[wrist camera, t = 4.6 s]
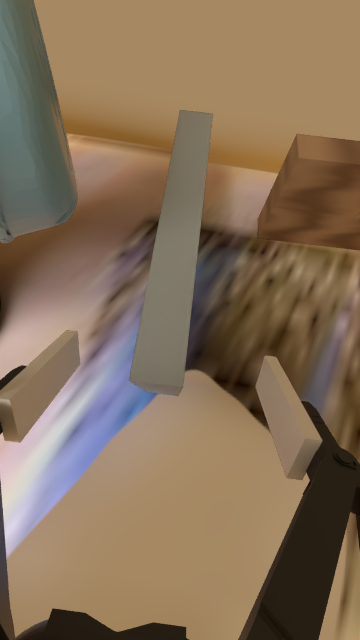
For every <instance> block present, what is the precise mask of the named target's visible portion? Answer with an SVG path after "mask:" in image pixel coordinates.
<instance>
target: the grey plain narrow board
mask: <svg viewBox="0 0 360 640" xmlns="http://www.w3.org/2000/svg"><path fill="white" fill-rule="evenodd" d="M212 118H213V114H211V113H203V112H193V111H185V110H180V112H179V118H178V123H177V128H176V134H175V139H174V144H173V150H172V155H171V160H170V165H169V171H168V176H167V181H166V187H165V192H164V197H163V203H162V208H161V213H160V218H159V224H158V229H157V234H156V240H155V245H154V250H153V256H152V261H151V266H150V272H149V277H148V282H147V287H146V293H145V298H144V303H143V309H142V314H141V319H140V325H139V330H138V335H137V340H136V346H135V351H134V356H133V362H132V367H131V372H130V378H129V381H131V382H132V383H134V384H135V385H137V386H138V387H140V388H141V389H143V390H144V391H146V392H151V393H159V394H167V395H175V396H178V395H179V393H180V392H181V390H182V388H183V381H184V373H185V364H186V355H187V346H188V337H189V328H190V319H191V310H192V300H193V291H194V282H195V273H196V264H197V255H198V246H199V237H200V227H201V218H202V209H203V200H204V191H205V182H206V173H207V164H208V154H209V145H210V135H211V127H212Z"/></svg>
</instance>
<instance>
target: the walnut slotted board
mask: <svg viewBox="0 0 360 640" xmlns="http://www.w3.org/2000/svg"><path fill="white" fill-rule="evenodd" d="M258 238H261V239H270V240H278V241H286V242H295V243H303V244H312V245H320V246H328V247H337V248H345V249H353V250H360V141H353V140H345V139H336V138H327V137H319V136H310V135H301V134H297V135H296V137H295V139H294V141H293V143H292V146H291V148H290V150H289V152H288V154H287V157H286V159H285V161H284V163H283V165H282V167H281V170H280V172H279V174H278V176H277V178H276V181H275V183H274V185H273V187H272V189H271V191H270V194H269V196H268V198H267V200H266V202H265V205H264V207H263V209H262V211H261V213H260V215H259V218H258Z"/></svg>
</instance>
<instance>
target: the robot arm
mask: <svg viewBox="0 0 360 640" xmlns="http://www.w3.org/2000/svg"><path fill="white" fill-rule="evenodd" d="M76 204H77V186H76V180H75V174H74V169H73V164H72V159H71V154H70V150H69V145H68V140H67V136H66V132H65V127H64V123H63V119H62V115H61V110H60V106H59V102H58V98H57V93H56V89H55V85H54V80H53V76H52V72H51V68H50V64H49V60H48V56H47V52H46V47H45V43H44V39H43V35H42V32H41V28H40V24H39V20H38V16H37V12H36V8H35V4H34V0H0V242H2V243H10V242H12V241H14V240H15V238H16V237H17V236H21V235H24V234H28V233H32V232H36V231H40V230H44V229H47V228H51V227H55V226H58V225H61V224H62V223H64V222H66V221H67V220H68V219H69V218H70V217H71V216H72V214H73V212H74V210H75V208H76ZM0 307H1V304H0ZM79 365H80V356H79V343H78V332H77V331H69V330H66V331H65V332H64V333H63V334H62V335H61V336H60V337H59V338H58V339H57V340H55V341H54V342H53V343H52V344H51V345H50V346H49V347H48V348H47V349H46V350H44V351H43V352H42V353H41V354H40V355H39V356H38V357H37V358H36V359H35V360H33V361H32V362H31V363H30V364H29V365H28V366H23V365H21V366H19V367H17V368H15V369H13V370H12V371H10V372H9V373H8V374H7V375H6V376H5V377H3V378H2V379H1V380H0V434H1V433H2V432H3V436H4V439H5V441H12V442H21V441H22V440H23V438H24V437H25V436H26V434H27V433H28V432H29V430H30V429H31V428H32V426H33V425H34V424H35V423H36V421H37V420H38V419H39V417H40V416H41V415H42V413H43V412H44V411H45V410H46V408H47V407H48V406H49V404H50V403H51V402H52V400H53V399H54V398H55V396H56V395H57V394H58V393H59V391H60V390H61V389H62V387H63V386H64V385H65V383H66V382H67V381H68V379H69V378H70V377H71V376H72V374H73V373H74V372H75V370H76V369H77V368H78V366H79ZM255 387H256V390H257V393H258V396H259V399H260V402H261V405H262V408H263V411H264V414H265V417H266V419H267V422H268V425H269V428H270V431H271V434H272V437H273V440H274V443H275V446H276V449H277V452H278V455H279V458H280V461H281V463H282V466H283V469H284V472H285V475H286V478H291V479H298V480H302V479H303V477H304V475H305V474H306V472H307V475H308V477H309V479H310V482H309V484H308V485H307V487H306V489H305V491H304V493H303V497H302V499H301V501H300V503H299V506H298V508H297V510H296V512H295V515H294V517H293V519H292V521H291V523H290V526H289V528H288V530H287V532H286V534H285V537H284V539H283V541H282V544H281V546H280V548H279V550H278V552H277V555H276V557H275V559H274V561H273V564H272V566H271V568H270V570H269V572H268V575H267V577H266V579H265V581H264V583H263V586H262V588H261V590H260V592H259V595H258V597H257V599H256V601H255V604H254V606H253V608H252V610H251V612H250V615H249V617H248V619H247V621H246V624H245V626H244V628H243V630H242V632H241V635H240V637H239V639H238V640H318V639H319V635H320V631H321V626H322V622H323V619H324V615H325V611H326V606H327V603H328V598H329V594H330V591H331V587H332V583H333V579H334V575H335V570H336V567H337V563H338V558H339V554H340V550H341V546H342V542H343V538H344V534H345V530H346V526H347V522H348V518H349V514H350V512H352V513H354V514H356V520H357V529H358V539H359V548H360V464H359V463H358V461H357V460H356V458H355V457H354V456H353V455H352V454H350V453H349V452H348V451H346V450H344V449H342V448H340V447H339V446H338V444H337V442H336V441H335V439H334V437H333V436H332V434H331V432H330V431H329V429H328V428H327V426H326V425H325V423H324V421H323V419H322V418H321V416H320V415H319V413H318V411H317V410H316V408H314V407H313V406H312V405H311V404H310V403H309V402H305V401H300V399H299V397H298V396H297V394H296V392H295V390H294V388H293V387H292V385H291V383H290V381H289V379H288V378H287V376H286V374H285V372H284V370H283V369H282V367H281V365H280V363H279V361H278V360H277V358H276V357H273V356H265V357H264V360H263V364H262V367H261V370H260V373H259V377H258V380H257V383H256V386H255ZM0 640H189V639H187V638H186V627H182V626H174V625H167V624H160V623H150V624H146V625H143V626H139V627H136V628H132V629H128V630H124V631H121V632H115V631H113V630H111V629H110V628H108V627H107V626H105V625H104V624H102V623H100V622H99V621H97V620H95V619H94V618H92V617H91V616H89V615H88V614H86V613H82V612H74V611H67V610H60V609H52V612H51V614H50V618H49V620H45V621H42V622H40V623H38V624H35V625H33V626H32V627H30V628H29V629H27V630H25V631H24V632H22V633H21V634H20V635H18V636H17V637H15V634H14V626H13V619H12V615H11V610H10V601H9V590H8V575H7V563H6V548H5V535H4V522H3V508H2V495H1V481H0Z"/></svg>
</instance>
